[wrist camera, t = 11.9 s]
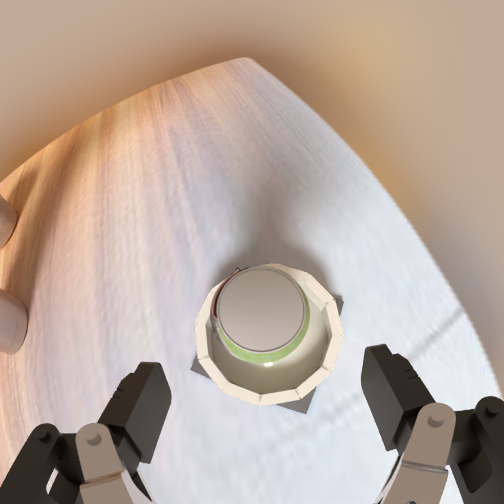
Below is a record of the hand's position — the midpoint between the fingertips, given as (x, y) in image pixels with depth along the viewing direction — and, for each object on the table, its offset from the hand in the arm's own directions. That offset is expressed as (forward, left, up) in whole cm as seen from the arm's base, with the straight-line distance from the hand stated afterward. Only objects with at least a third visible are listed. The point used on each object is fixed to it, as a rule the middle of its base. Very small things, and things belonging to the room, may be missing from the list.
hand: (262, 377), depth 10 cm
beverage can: (-3, +4, -16) cm, 16 cm away
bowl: (-2, +4, -16) cm, 17 cm away
